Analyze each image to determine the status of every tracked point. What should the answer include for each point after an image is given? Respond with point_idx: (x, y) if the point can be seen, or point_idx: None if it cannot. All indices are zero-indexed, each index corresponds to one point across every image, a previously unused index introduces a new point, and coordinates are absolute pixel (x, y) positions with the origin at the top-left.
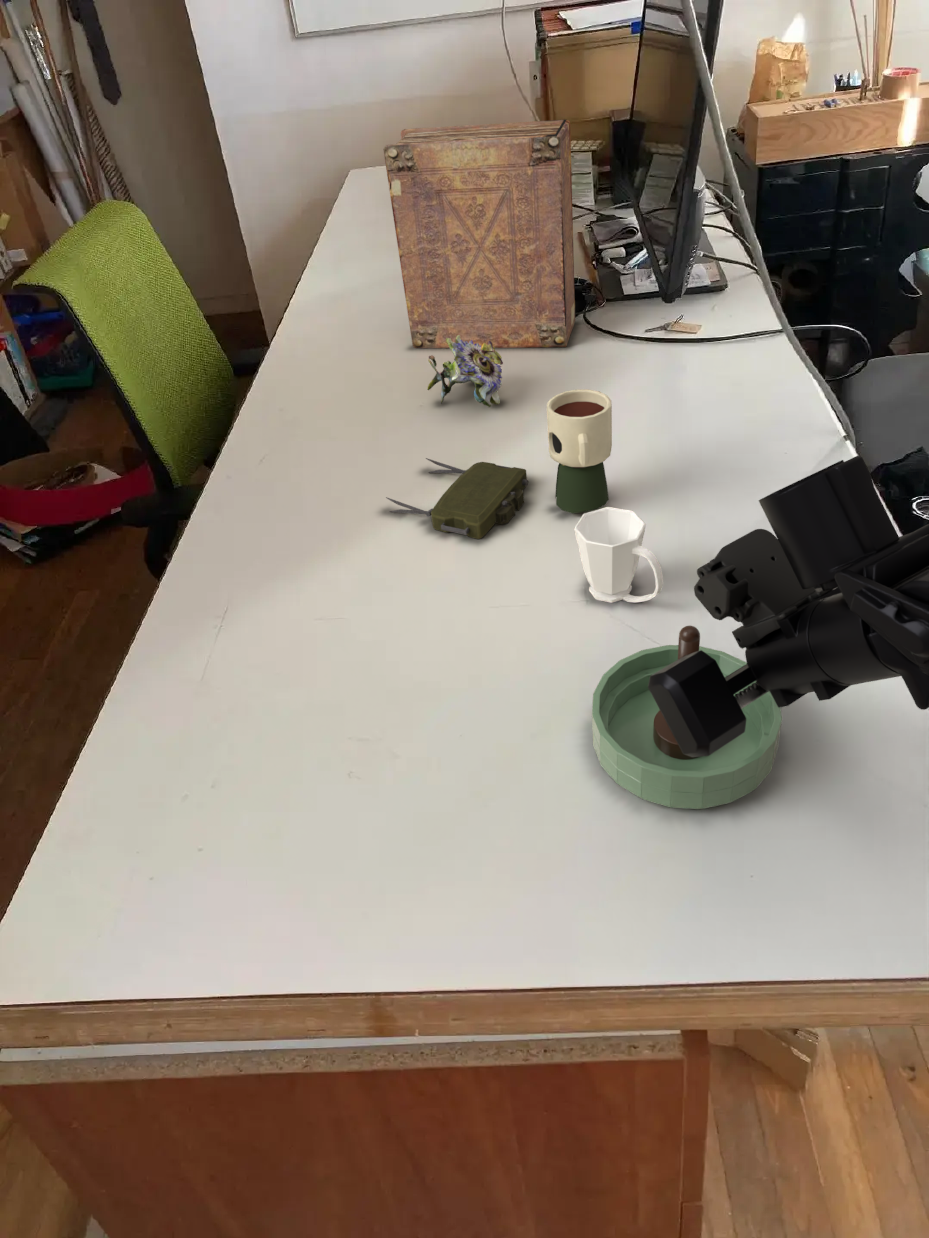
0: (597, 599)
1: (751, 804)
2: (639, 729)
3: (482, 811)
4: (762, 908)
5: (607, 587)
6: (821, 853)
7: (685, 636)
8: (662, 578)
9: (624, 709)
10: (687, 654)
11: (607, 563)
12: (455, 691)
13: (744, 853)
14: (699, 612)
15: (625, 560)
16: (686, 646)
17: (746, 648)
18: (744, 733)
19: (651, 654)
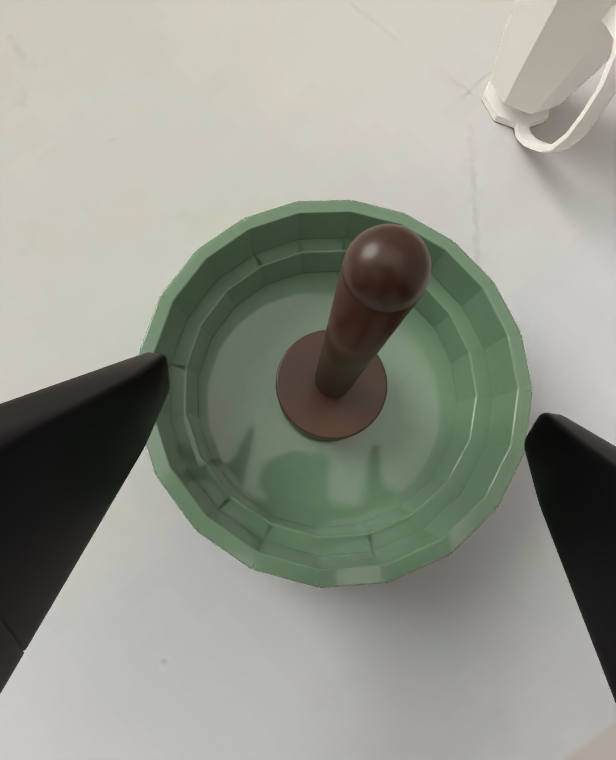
0: (483, 100)
1: None
2: (293, 325)
3: (11, 256)
4: (117, 720)
5: (507, 82)
6: (283, 728)
7: (353, 263)
8: (594, 121)
9: (313, 280)
10: (339, 317)
11: (541, 14)
12: (178, 78)
13: (197, 621)
14: (584, 232)
15: (576, 32)
16: (340, 296)
17: (533, 427)
18: (409, 463)
19: None
